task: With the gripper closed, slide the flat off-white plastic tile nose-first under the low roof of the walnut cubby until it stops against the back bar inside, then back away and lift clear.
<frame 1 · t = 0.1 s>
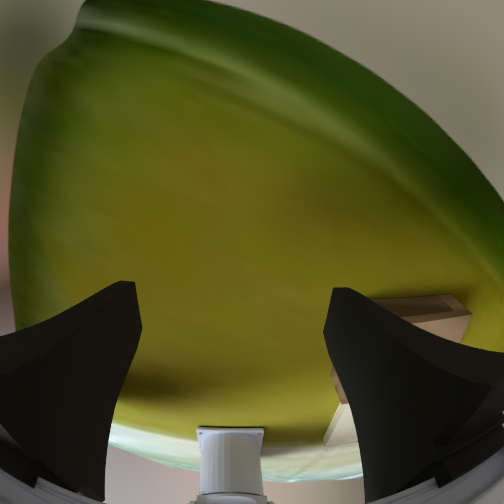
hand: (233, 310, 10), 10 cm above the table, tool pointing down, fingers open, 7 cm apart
tile: (358, 408, 29), on the table
cubby: (394, 336, 24), on the table
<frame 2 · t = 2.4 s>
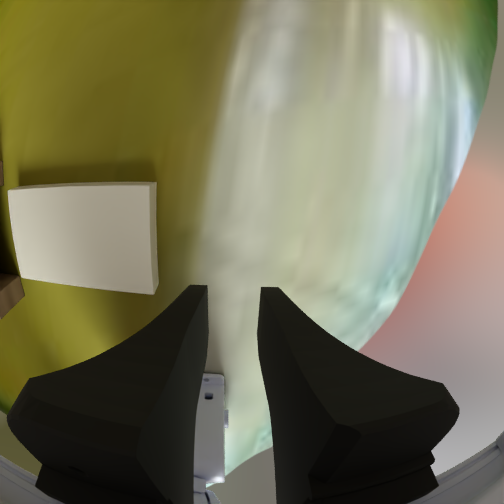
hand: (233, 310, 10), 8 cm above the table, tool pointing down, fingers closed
tile: (82, 229, 17), on the table
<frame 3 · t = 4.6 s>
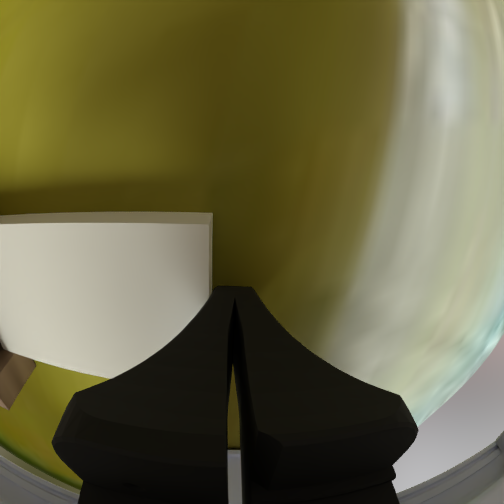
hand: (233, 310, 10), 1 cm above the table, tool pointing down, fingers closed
tile: (82, 286, 11), on the table, touching gripper
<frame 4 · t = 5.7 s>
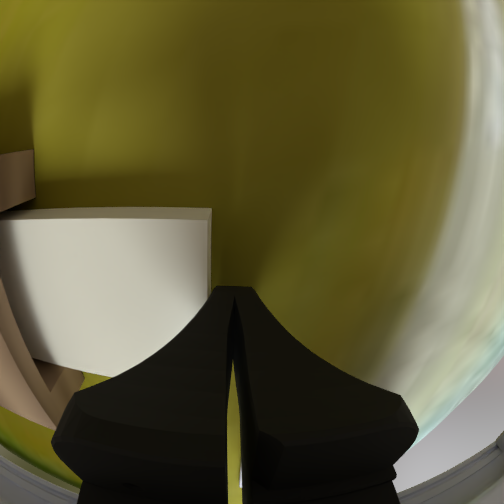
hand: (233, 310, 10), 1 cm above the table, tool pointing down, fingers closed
tile: (80, 283, 11), on the table, touching gripper
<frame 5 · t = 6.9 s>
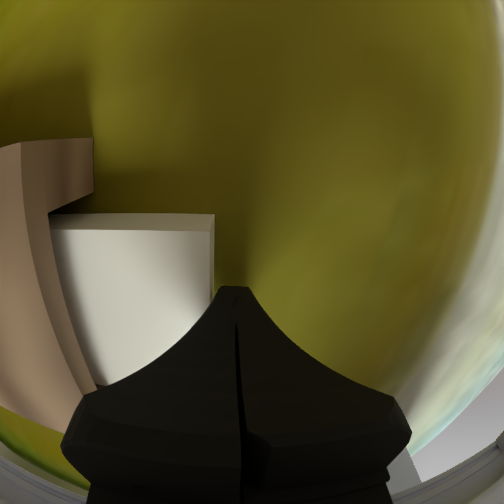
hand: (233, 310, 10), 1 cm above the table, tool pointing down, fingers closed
tile: (79, 293, 10), on the table, touching cubby, gripper
cubby: (30, 282, 10), on the table
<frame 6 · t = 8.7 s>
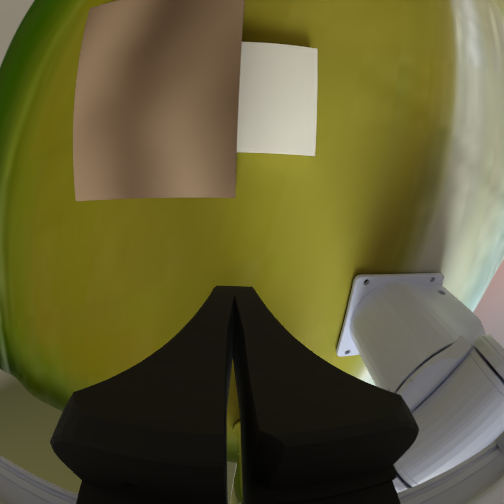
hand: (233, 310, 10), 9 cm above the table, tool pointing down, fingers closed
tile: (215, 99, 16), on the table
cubby: (167, 95, 15), on the table
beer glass: (259, 426, 27), on the table
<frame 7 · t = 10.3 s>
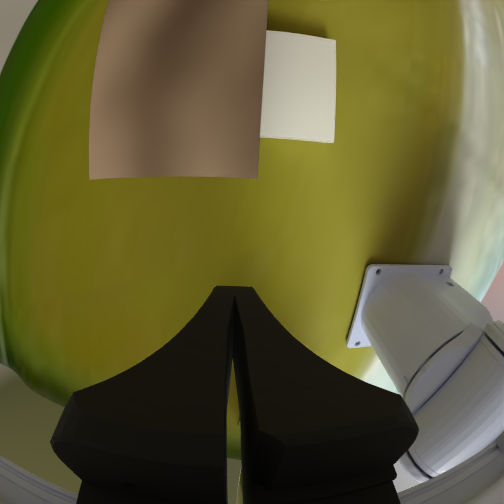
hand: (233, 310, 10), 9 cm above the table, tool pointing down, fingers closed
tile: (234, 85, 15), on the table
cubby: (186, 79, 15), on the table
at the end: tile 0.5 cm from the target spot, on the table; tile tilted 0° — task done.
